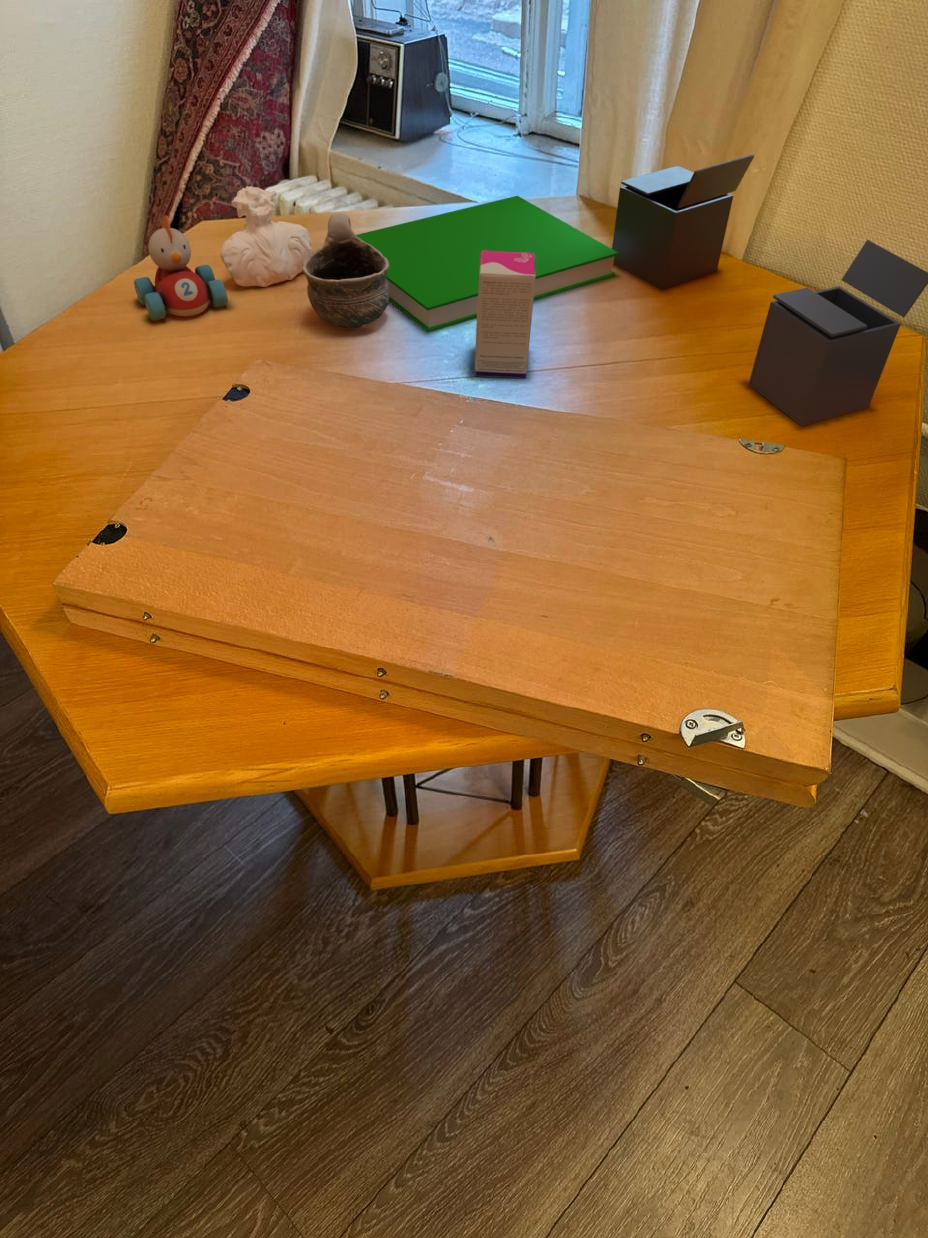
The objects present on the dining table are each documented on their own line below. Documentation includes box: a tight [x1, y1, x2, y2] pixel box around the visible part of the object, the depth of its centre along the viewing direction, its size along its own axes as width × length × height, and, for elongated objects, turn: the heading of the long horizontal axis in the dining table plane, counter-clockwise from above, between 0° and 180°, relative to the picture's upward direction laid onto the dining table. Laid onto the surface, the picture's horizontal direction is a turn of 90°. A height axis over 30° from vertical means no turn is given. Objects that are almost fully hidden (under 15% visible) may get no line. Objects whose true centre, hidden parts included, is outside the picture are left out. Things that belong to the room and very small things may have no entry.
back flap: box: [677, 154, 755, 208], centre depth 104 cm, size 5×10×1 cm
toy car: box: [133, 215, 229, 322], centre depth 104 cm, size 9×9×10 cm
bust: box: [219, 185, 313, 288], centre depth 110 cm, size 12×8×11 cm
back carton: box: [611, 165, 734, 291], centre depth 113 cm, size 10×10×10 cm
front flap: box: [840, 239, 928, 318], centre depth 88 cm, size 4×9×1 cm
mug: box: [302, 213, 389, 329], centre depth 102 cm, size 10×12×10 cm
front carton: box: [747, 285, 902, 427], centre depth 91 cm, size 9×9×10 cm
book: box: [355, 195, 618, 333], centre depth 114 cm, size 22×28×3 cm
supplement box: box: [473, 250, 535, 379], centre depth 94 cm, size 6×6×12 cm
